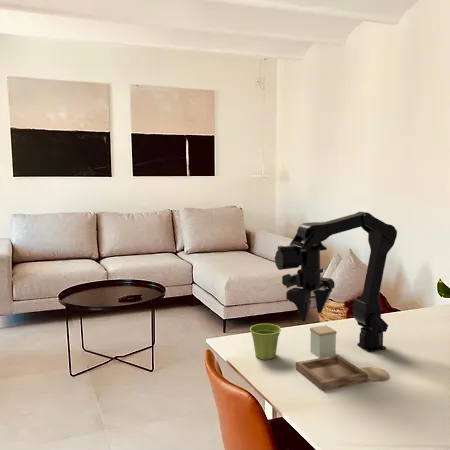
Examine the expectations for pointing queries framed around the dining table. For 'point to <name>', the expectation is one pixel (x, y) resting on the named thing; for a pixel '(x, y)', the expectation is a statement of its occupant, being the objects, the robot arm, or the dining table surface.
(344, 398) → the dining table surface
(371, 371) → the cork coaster
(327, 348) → the sage canister
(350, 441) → the dining table surface
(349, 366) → the walnut tray
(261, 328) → the plant pot
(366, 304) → the robot arm
